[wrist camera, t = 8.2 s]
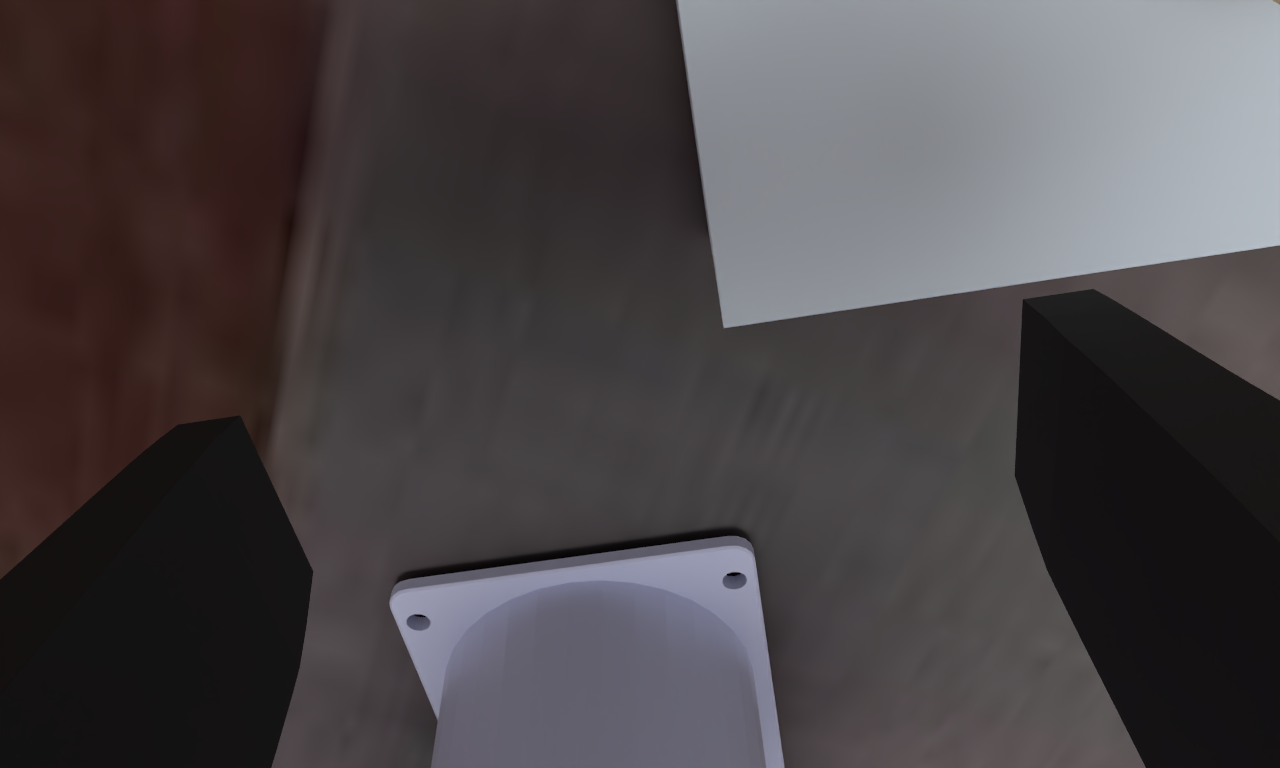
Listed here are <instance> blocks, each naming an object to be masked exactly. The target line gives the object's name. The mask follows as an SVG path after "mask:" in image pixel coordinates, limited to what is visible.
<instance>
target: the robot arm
mask: <svg viewBox="0 0 1280 768" xmlns="http://www.w3.org/2000/svg"><path fill="white" fill-rule="evenodd" d="M1015 477H1016V480H1017V483H1018V486H1019V490H1020V493H1021V496H1022V499H1023V502H1024V505H1025V508H1026V511H1027V514H1028V517H1029V520H1030V523H1031V526H1032V529H1033V532H1034V534H1035V537H1036V540H1037V543H1038V546H1039V548H1040V551H1041V554H1042V557H1043V560H1044V562H1045V565H1046V568H1047V571H1048V573H1049V575H1050V577H1051V579H1052V581H1053V583H1054V585H1055V587H1056V589H1057V591H1058V593H1059V595H1060V597H1061V599H1062V601H1063V603H1064V605H1065V607H1066V610H1067V612H1068V614H1069V616H1070V618H1071V620H1072V622H1073V624H1074V626H1075V628H1076V630H1077V632H1078V634H1079V636H1080V638H1081V640H1082V642H1083V644H1084V646H1085V648H1086V650H1087V652H1088V654H1089V656H1090V658H1091V660H1092V662H1093V664H1094V666H1095V668H1096V670H1097V672H1098V674H1099V675H1100V677H1101V679H1102V681H1103V683H1104V685H1105V687H1106V689H1107V691H1108V693H1109V695H1110V697H1111V699H1112V701H1113V703H1114V705H1115V707H1116V709H1117V711H1118V713H1119V715H1120V717H1121V719H1122V721H1123V723H1124V725H1125V727H1126V729H1127V731H1128V733H1129V735H1130V737H1131V739H1132V741H1133V743H1134V745H1135V747H1136V749H1137V751H1138V753H1139V755H1140V757H1141V759H1142V761H1143V763H1144V765H1145V767H1146V768H1280V400H1278V399H1276V398H1274V397H1273V396H1271V395H1269V394H1267V393H1266V392H1264V391H1262V390H1261V389H1259V388H1257V387H1256V386H1254V385H1252V384H1250V383H1249V382H1247V381H1245V380H1244V379H1242V378H1240V377H1239V376H1237V375H1235V374H1234V373H1232V372H1230V371H1229V370H1227V369H1225V368H1224V367H1222V366H1220V365H1219V364H1217V363H1215V362H1214V361H1212V360H1210V359H1209V358H1207V357H1205V356H1204V355H1202V354H1201V353H1199V352H1197V351H1196V350H1194V349H1192V348H1191V347H1189V346H1188V345H1186V344H1184V343H1183V342H1181V341H1179V340H1178V339H1176V338H1175V337H1173V336H1171V335H1170V334H1168V333H1167V332H1165V331H1163V330H1162V329H1160V328H1158V327H1157V326H1155V325H1154V324H1152V323H1150V322H1149V321H1147V320H1145V319H1144V318H1142V317H1141V316H1139V315H1137V314H1136V313H1134V312H1132V311H1131V310H1129V309H1127V308H1126V307H1124V306H1122V305H1121V304H1119V303H1117V302H1116V301H1114V300H1112V299H1110V298H1109V297H1107V296H1105V295H1103V294H1101V293H1100V292H1098V291H1096V290H1094V289H1091V290H1084V291H1077V292H1070V293H1064V294H1057V295H1050V296H1043V297H1037V298H1030V299H1023V307H1022V329H1021V351H1020V373H1019V395H1018V417H1017V439H1016V461H1015ZM731 572H740V573H741V574H739V575H736V576H727V574H728V573H731ZM312 576H313V570H312V568H311V566H310V564H309V562H308V559H307V557H306V555H305V553H304V551H303V549H302V547H301V544H300V542H299V540H298V538H297V536H296V534H295V532H294V530H293V527H292V525H291V523H290V521H289V519H288V517H287V515H286V512H285V510H284V508H283V506H282V504H281V502H280V500H279V497H278V495H277V493H276V491H275V489H274V487H273V485H272V483H271V480H270V478H269V476H268V474H267V472H266V470H265V468H264V465H263V463H262V461H261V459H260V457H259V455H258V453H257V450H256V448H255V446H254V444H253V442H252V440H251V438H250V436H249V433H248V431H247V429H246V427H245V425H244V423H243V421H242V418H241V416H234V417H227V418H221V419H214V420H207V421H200V422H194V423H187V424H180V425H177V426H176V427H174V428H173V429H172V430H170V431H169V432H168V433H166V434H165V435H164V436H162V437H161V438H160V439H159V440H157V441H156V442H155V443H154V444H152V445H151V446H150V447H149V448H148V449H146V450H145V451H144V452H143V453H142V454H140V455H139V456H138V457H137V458H136V459H135V460H133V461H132V462H131V463H130V464H129V465H128V466H127V467H125V468H124V469H123V470H122V471H121V472H120V473H119V474H117V475H116V476H115V477H114V478H113V479H112V480H111V481H110V482H109V483H107V484H106V485H105V486H104V487H103V488H102V489H101V490H100V491H98V492H97V493H96V494H95V495H94V496H93V497H92V498H91V499H90V500H89V501H87V502H86V503H85V504H84V505H83V506H82V507H81V508H80V509H79V510H78V511H76V512H75V513H74V514H73V515H72V516H71V517H70V518H69V519H67V520H66V521H65V522H64V523H63V524H62V525H61V526H60V527H59V528H57V529H56V530H55V531H54V532H53V533H52V534H51V535H50V536H49V537H47V538H46V539H45V540H44V541H43V542H42V543H41V544H40V545H39V546H37V547H36V548H35V549H34V550H33V551H32V552H31V553H30V554H28V555H27V556H26V557H25V558H24V559H23V560H22V561H21V562H20V563H18V564H17V565H16V566H15V567H14V568H13V569H12V570H11V571H10V572H8V573H7V574H6V575H5V576H4V577H3V578H2V579H0V768H271V767H272V763H273V760H274V756H275V753H276V750H277V746H278V743H279V739H280V736H281V732H282V729H283V725H284V722H285V718H286V715H287V711H288V708H289V704H290V701H291V697H292V694H293V690H294V686H295V683H296V679H297V675H298V672H299V668H300V662H301V656H302V650H303V643H304V637H305V631H306V625H307V617H308V609H309V601H310V593H311V584H312ZM389 603H390V609H391V611H392V614H393V616H394V618H395V621H396V623H397V625H398V628H399V630H400V633H401V635H402V637H403V640H404V642H405V644H406V647H407V649H408V651H409V654H410V656H411V659H412V661H413V663H414V666H415V668H416V670H417V673H418V675H419V677H420V680H421V682H422V685H423V687H424V689H425V692H426V694H427V696H428V699H429V701H430V703H431V706H432V708H433V711H434V713H435V715H436V718H437V720H438V724H437V730H436V737H435V743H434V750H433V757H432V763H431V768H785V767H784V760H783V753H782V746H781V739H780V732H779V725H778V718H777V711H776V704H775V697H774V690H773V682H772V675H771V668H770V661H769V654H768V647H767V640H766V633H765V626H764V619H763V612H762V605H761V598H760V590H759V583H758V576H757V569H756V562H755V555H754V549H753V547H752V545H751V543H750V542H749V541H747V540H746V539H745V538H742V537H739V536H724V537H716V538H709V539H701V540H694V541H687V542H679V543H672V544H664V545H657V546H650V547H642V548H635V549H627V550H620V551H613V552H605V553H598V554H590V555H583V556H576V557H568V558H561V559H554V560H546V561H539V562H531V563H524V564H517V565H509V566H502V567H494V568H487V569H480V570H472V571H465V572H457V573H450V574H443V575H435V576H428V577H421V578H413V579H407V580H404V581H400V582H399V583H398V584H396V585H395V586H394V588H393V590H392V592H391V597H390V601H389ZM414 614H421V615H424V616H426V617H417V616H415V615H414Z"/></svg>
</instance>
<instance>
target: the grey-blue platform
mask: <svg viewBox="0 0 1280 768" xmlns="http://www.w3.org/2000/svg"><path fill="white" fill-rule="evenodd" d="M676 5H677V12H678V19H679V27H680V34H681V41H682V48H683V55H684V62H685V69H686V76H687V83H688V90H689V97H690V104H691V111H692V118H693V125H694V133H695V140H696V147H697V154H698V161H699V168H700V175H701V182H702V189H703V196H704V203H705V210H706V217H707V224H708V232H709V238H710V245H711V251H712V257H713V264H714V270H715V276H716V282H717V289H718V295H719V301H720V307H721V314H722V320H723V326H724V328H729V327H735V326H742V325H749V324H755V323H762V322H769V321H775V320H782V319H789V318H795V317H802V316H809V315H816V314H822V313H829V312H836V311H842V310H849V309H856V308H862V307H869V306H876V305H883V304H889V303H896V302H903V301H909V300H916V299H923V298H929V297H936V296H943V295H950V294H956V293H963V292H970V291H976V290H983V289H990V288H996V287H1003V286H1010V285H1017V284H1023V283H1030V282H1037V281H1043V280H1050V279H1057V278H1063V277H1070V276H1077V275H1083V274H1090V273H1097V272H1104V271H1110V270H1117V269H1124V268H1130V267H1137V266H1144V265H1150V264H1157V263H1164V262H1171V261H1177V260H1184V259H1191V258H1197V257H1204V256H1211V255H1217V254H1224V253H1231V252H1238V251H1244V250H1251V249H1258V248H1264V247H1271V246H1278V245H1280V5H1279V4H1277V3H1276V2H1274V1H1273V0H676Z"/></svg>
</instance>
